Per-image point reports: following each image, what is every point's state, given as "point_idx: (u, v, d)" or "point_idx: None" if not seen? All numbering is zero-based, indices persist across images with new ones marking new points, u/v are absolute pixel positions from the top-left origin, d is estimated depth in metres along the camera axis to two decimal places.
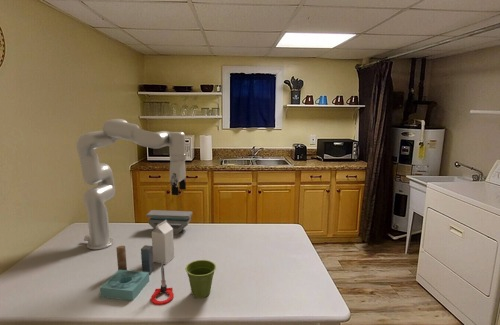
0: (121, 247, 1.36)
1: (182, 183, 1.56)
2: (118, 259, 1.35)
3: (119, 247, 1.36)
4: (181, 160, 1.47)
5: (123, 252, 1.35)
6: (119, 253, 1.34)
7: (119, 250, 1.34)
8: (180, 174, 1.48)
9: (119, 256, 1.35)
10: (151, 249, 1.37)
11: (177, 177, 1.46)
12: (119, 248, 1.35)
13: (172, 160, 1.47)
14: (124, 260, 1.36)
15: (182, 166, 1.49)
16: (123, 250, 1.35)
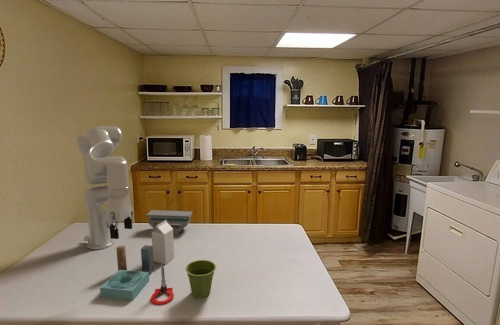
0: (121, 247, 1.36)
1: (127, 222, 1.27)
2: (118, 259, 1.35)
3: (119, 247, 1.36)
4: (121, 196, 1.18)
5: (123, 252, 1.35)
6: (119, 253, 1.34)
7: (119, 250, 1.34)
8: (121, 213, 1.18)
9: (119, 256, 1.35)
10: (151, 249, 1.37)
11: (116, 217, 1.17)
12: (119, 248, 1.35)
13: (110, 196, 1.17)
14: (124, 260, 1.36)
15: (124, 202, 1.20)
16: (123, 250, 1.35)
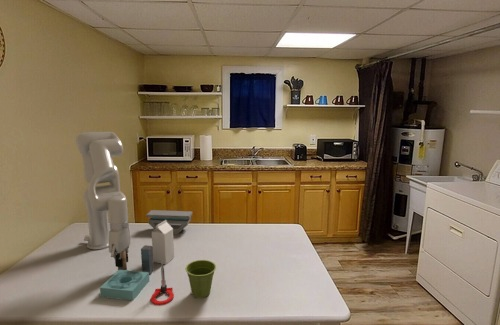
0: None
1: None
2: None
3: None
4: (122, 229, 1.31)
5: (123, 252, 1.35)
6: None
7: None
8: (121, 244, 1.32)
9: None
10: (151, 249, 1.37)
11: (117, 248, 1.30)
12: None
13: (111, 229, 1.31)
14: (124, 260, 1.36)
15: (124, 234, 1.33)
16: (123, 250, 1.35)
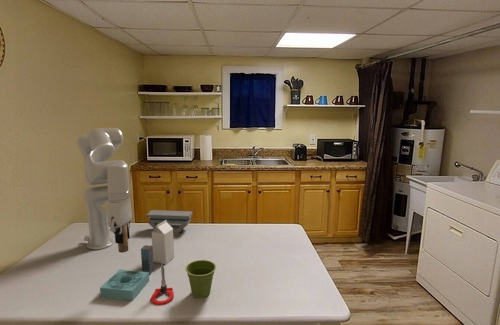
0: None
1: None
2: None
3: None
4: (122, 200, 1.16)
5: (124, 227, 1.20)
6: None
7: None
8: (121, 217, 1.17)
9: None
10: (151, 249, 1.37)
11: (117, 221, 1.15)
12: None
13: (111, 200, 1.16)
14: (125, 235, 1.21)
15: (125, 206, 1.19)
16: (124, 224, 1.20)
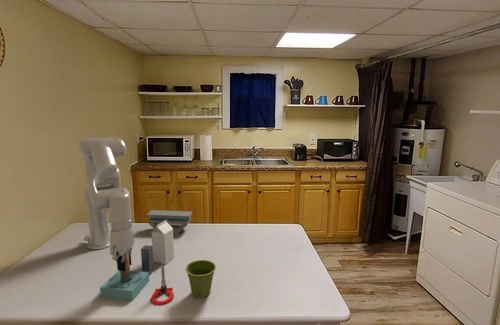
0: None
1: None
2: None
3: None
4: (124, 229, 1.18)
5: (126, 254, 1.22)
6: None
7: None
8: (123, 246, 1.19)
9: None
10: (151, 249, 1.37)
11: (119, 250, 1.17)
12: None
13: (113, 229, 1.18)
14: (127, 263, 1.23)
15: (127, 235, 1.21)
16: (126, 252, 1.22)
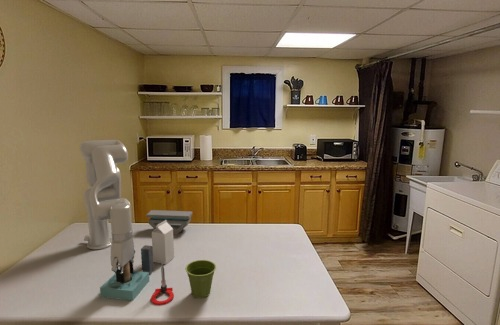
0: None
1: None
2: None
3: None
4: (125, 240, 1.19)
5: (127, 266, 1.23)
6: None
7: None
8: (124, 257, 1.20)
9: None
10: (151, 249, 1.37)
11: (120, 261, 1.18)
12: None
13: (114, 240, 1.19)
14: (128, 275, 1.24)
15: (127, 246, 1.21)
16: (127, 264, 1.23)
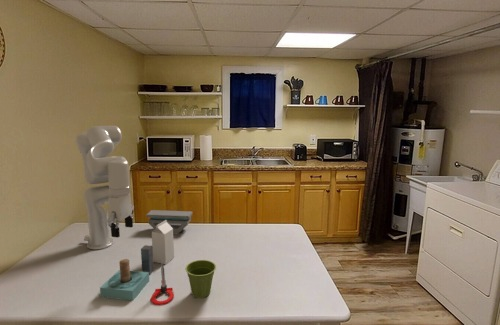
0: (124, 261, 1.24)
1: (128, 220, 1.30)
2: (121, 274, 1.23)
3: (122, 261, 1.24)
4: (123, 195, 1.20)
5: (127, 266, 1.23)
6: (122, 267, 1.23)
7: (122, 264, 1.22)
8: (122, 212, 1.21)
9: (122, 271, 1.23)
10: (151, 249, 1.37)
11: (117, 216, 1.19)
12: (122, 262, 1.23)
13: (111, 195, 1.20)
14: (128, 275, 1.24)
15: (125, 202, 1.22)
16: (127, 264, 1.23)
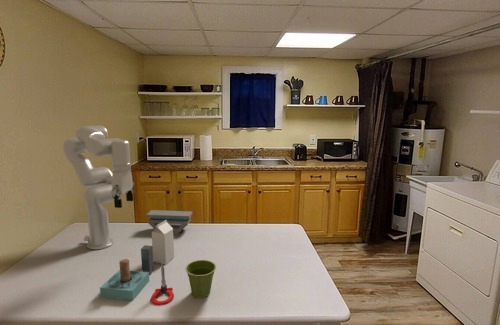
0: (124, 261, 1.24)
1: (129, 195, 1.47)
2: (121, 274, 1.23)
3: (122, 261, 1.24)
4: (124, 171, 1.37)
5: (127, 266, 1.23)
6: (122, 267, 1.23)
7: (122, 264, 1.22)
8: (123, 185, 1.38)
9: (122, 271, 1.23)
10: (151, 249, 1.37)
11: (120, 189, 1.36)
12: (122, 262, 1.23)
13: (114, 170, 1.37)
14: (128, 275, 1.24)
15: (126, 177, 1.39)
16: (127, 264, 1.23)
